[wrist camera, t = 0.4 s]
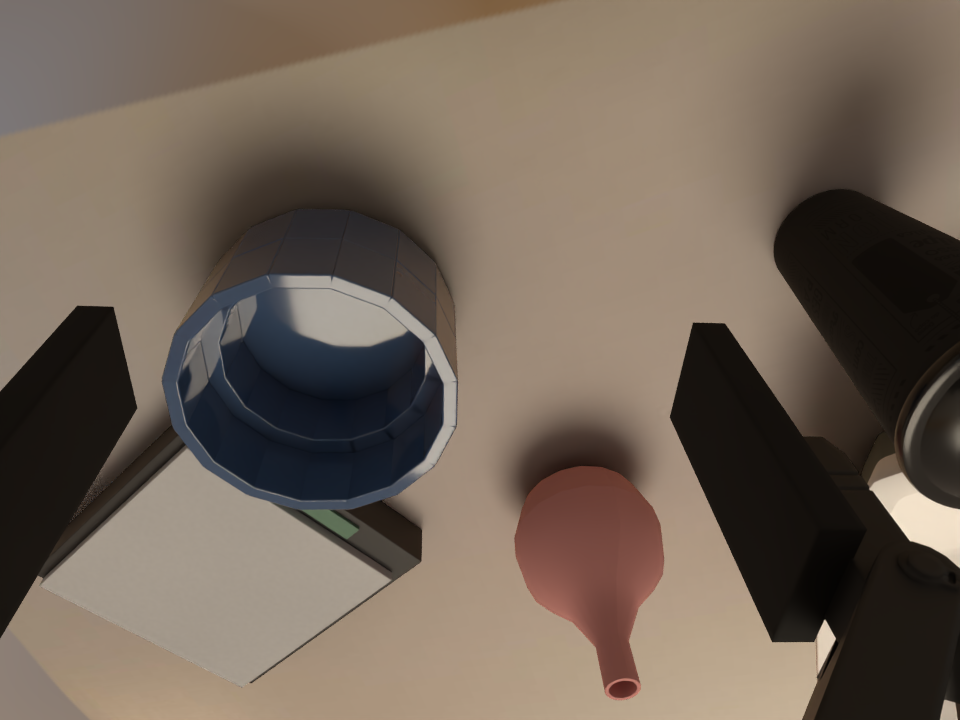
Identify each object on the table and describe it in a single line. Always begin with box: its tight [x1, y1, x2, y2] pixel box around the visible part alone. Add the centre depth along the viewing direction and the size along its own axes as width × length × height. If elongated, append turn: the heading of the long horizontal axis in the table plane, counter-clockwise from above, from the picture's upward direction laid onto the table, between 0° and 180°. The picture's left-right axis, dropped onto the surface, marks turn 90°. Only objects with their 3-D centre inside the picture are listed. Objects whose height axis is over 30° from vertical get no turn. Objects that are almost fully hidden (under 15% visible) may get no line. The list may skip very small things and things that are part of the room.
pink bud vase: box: [514, 466, 664, 700], centre depth 36 cm, size 8×8×12 cm
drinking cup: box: [774, 189, 960, 509], centre depth 25 cm, size 8×8×20 cm
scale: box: [38, 426, 422, 687], centre depth 40 cm, size 15×14×3 cm
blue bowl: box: [162, 209, 458, 510], centre depth 31 cm, size 11×11×7 cm
